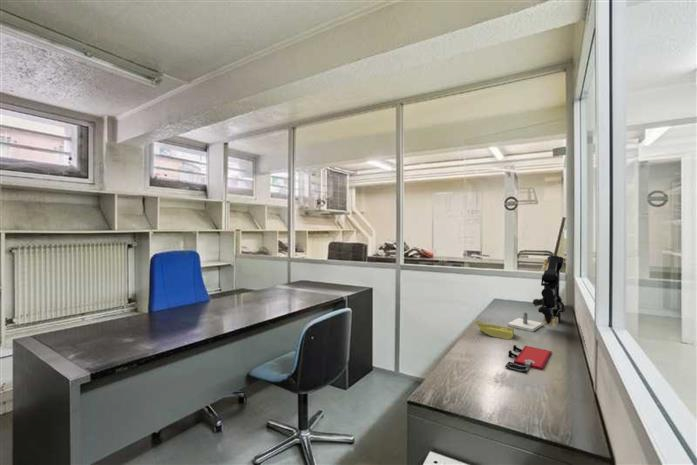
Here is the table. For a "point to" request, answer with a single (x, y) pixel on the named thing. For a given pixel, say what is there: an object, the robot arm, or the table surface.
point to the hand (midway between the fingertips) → (550, 322)
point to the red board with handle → (528, 358)
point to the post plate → (527, 326)
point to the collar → (553, 321)
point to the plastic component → (496, 330)
